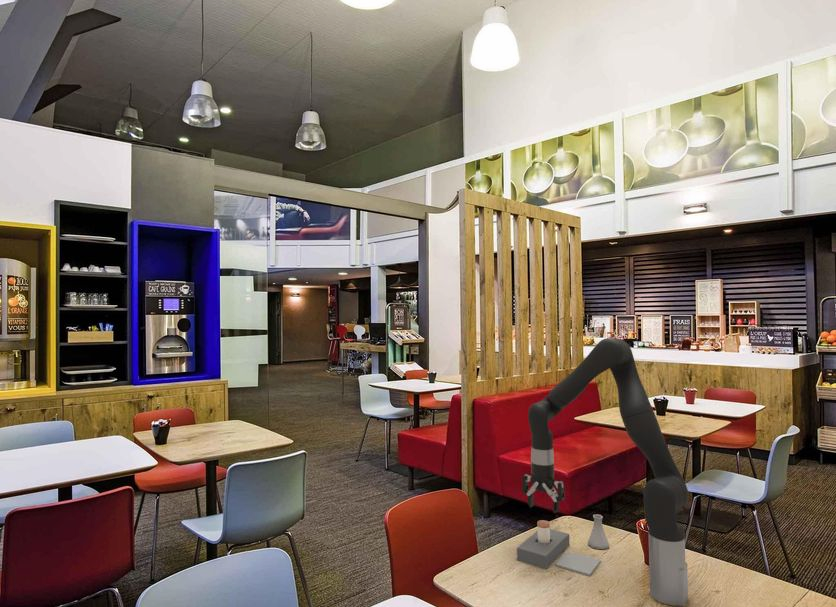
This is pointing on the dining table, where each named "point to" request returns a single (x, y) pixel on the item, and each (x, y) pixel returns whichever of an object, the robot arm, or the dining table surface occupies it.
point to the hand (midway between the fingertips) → (543, 509)
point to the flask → (598, 534)
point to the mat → (578, 563)
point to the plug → (543, 532)
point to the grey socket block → (543, 549)
